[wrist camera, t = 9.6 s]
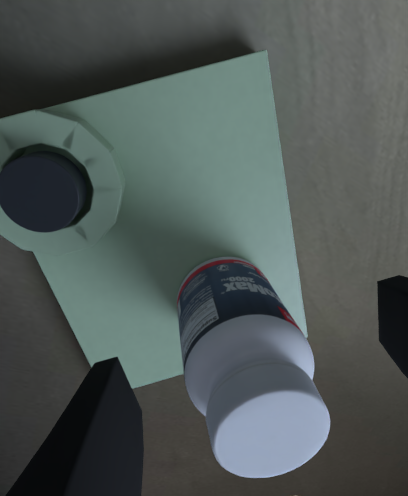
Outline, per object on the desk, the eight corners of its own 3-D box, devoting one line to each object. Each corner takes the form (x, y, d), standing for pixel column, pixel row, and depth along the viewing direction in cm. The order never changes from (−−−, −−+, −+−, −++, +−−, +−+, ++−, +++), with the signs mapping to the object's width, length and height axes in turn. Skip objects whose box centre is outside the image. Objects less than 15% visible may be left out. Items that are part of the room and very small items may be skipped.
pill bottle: (286, 280, 19) (384, 408, 11) (234, 347, 20) (288, 505, 12) (208, 236, 17) (256, 350, 9) (158, 313, 19) (162, 470, 11)
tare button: (97, 210, 15) (91, 221, 13) (31, 229, 15) (18, 242, 13) (70, 141, 14) (60, 146, 12) (-3, 161, 14) (-21, 168, 12)
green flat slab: (299, 324, 22) (319, 354, 19) (101, 382, 22) (94, 421, 19) (257, 53, 16) (280, 42, 13) (-25, 128, 15) (-64, 133, 13)
